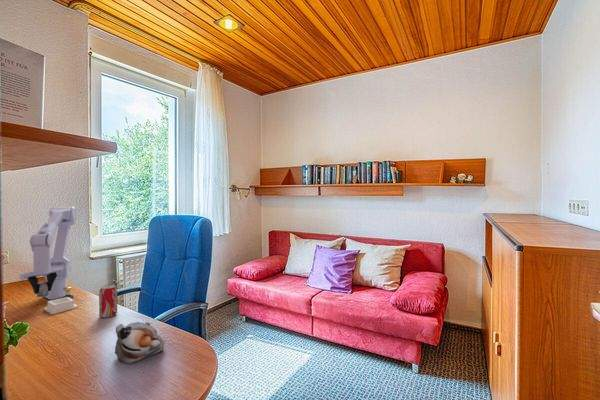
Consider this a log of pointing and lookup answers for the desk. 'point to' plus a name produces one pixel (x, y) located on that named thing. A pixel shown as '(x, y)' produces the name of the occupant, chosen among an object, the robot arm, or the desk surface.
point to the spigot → (43, 289)
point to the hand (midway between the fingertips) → (42, 292)
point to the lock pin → (67, 291)
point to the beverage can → (107, 301)
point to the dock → (60, 305)
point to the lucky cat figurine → (137, 342)
